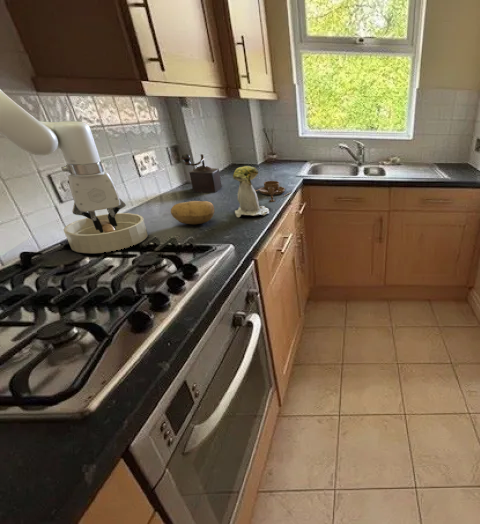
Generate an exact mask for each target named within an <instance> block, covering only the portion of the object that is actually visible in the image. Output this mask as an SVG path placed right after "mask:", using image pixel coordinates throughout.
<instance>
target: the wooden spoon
mask: <svg viewBox="0 0 480 524" xmlns="http://www.w3.org/2000/svg"><path fill="white" fill-rule="evenodd" d="M100 223H101V226H102V229H103V231H104V232H105V233H108V232H113V231H116V229H115V228H114V227H113V226H112V225H111V224H110V223H109V222H108V221H107V220H101V221H100Z"/></svg>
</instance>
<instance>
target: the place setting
mask: <svg viewBox="0 0 480 524" xmlns="http://www.w3.org/2000/svg"><path fill="white" fill-rule="evenodd" d="M255 191H256V192H259V193H260V194H262V195H264V196H270V199H268V202H270V203H275V202H276V201H277V200H276V199H274V196H278V195H281V194H284V193H285V191H286V188H285V187H284V186H280V182H279V181H277V180H266V181H264V182H263V187H260V188H258V189H255ZM291 193H293V192H292V191H290V192H288V193H286V194H284V195H283V197H287V195H289V194H291Z"/></svg>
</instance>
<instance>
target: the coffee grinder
mask: <svg viewBox="0 0 480 524" xmlns="http://www.w3.org/2000/svg"><path fill="white" fill-rule="evenodd" d="M180 160H181V161H182V162H183V164H184V166H187V167H188V166H192V167H195V168H193V169H192V170H191V171H189V177H190V182H191V187H192V192H193V193H203V194H205V193H206V194H207V193H208V194H209V193H212V194H215V193H217V192H218V191H220V190H221V189H222V188H223V186H222V180H221V175H220V174H221V173H220V168H218V167H217V168H214V167H210V166H208V165H206V164H205V156H204V154H200V160H199V161H198V162H195V163H192V162H191V161H190V160H191V155H190V154H188V153H182V154H181V155H180ZM198 165H199V166H198Z"/></svg>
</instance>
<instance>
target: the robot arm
mask: <svg viewBox="0 0 480 524" xmlns="http://www.w3.org/2000/svg"><path fill="white" fill-rule="evenodd" d="M0 135H2V136H3V137H5V138H6V139H7V140H8V141H10V142H11V143H13V144H14V145H16V146H17V147H18V148H19V149H21V150H23V151H25V152H27V153H29V154H32V155H35V156H49V155H51V154H53V153H54V152H55V151H57V150H58V149H60V150H61V153H62V154H63V157H64V160H65V163H66V164H65V165H64V166H60V168H61V171H62V173H69V174H68V176H67V177H68V178H67V179H68V185H69V188H70V193H71V196H72V199H73V207H72V211H71V213H72V214H73V215H75V216H83V217H85V218H89V219H91V220H93V223H94V226H95V229H96V230H99V231H100V232H101V233H103V229H102V226H101V223H100V220H99V219H98V218H97V217H96V216H97V214H96V212H95V211H100V210H106V211H107V214H108V216H107V217H108V220H109V223H110V224H111V225H112V226H113V227H114V228H115V229H116V227H115V226H117V223H116V220H115V216H116V214H117V213H119V211H120V210H122V209H123V208H125V207H126V206H127V204H126V203H125V202H124V201H123V200H122V199H121V198H120V197H119V193H118V190H117V188H116V186H115V183H114V181H113V179H112V177H111V175H110V173H109V172H107V171H105V169H104V167H103V164H102V161H101V157H100V153H99V151H98V148H97V145H96V142H95V139H94V135H93V132H92V130H91V127H90V125H89V124H88V123H86V122H84V121H80V120H79V121H78V120H64V121H57V122H53V121H41V120H39V119H37V118H36V117H34V116H33V115H32V114H31V113H29V112H28V111H27V110H25V109H24V108H23V107H22V106H21V105H20V104H18V103H16V102H15V100H13V99H12V98H11V97H10V96H8V95H7V94H6V93H5V92H4V91H3V90H2V89H1V88H0Z"/></svg>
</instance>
